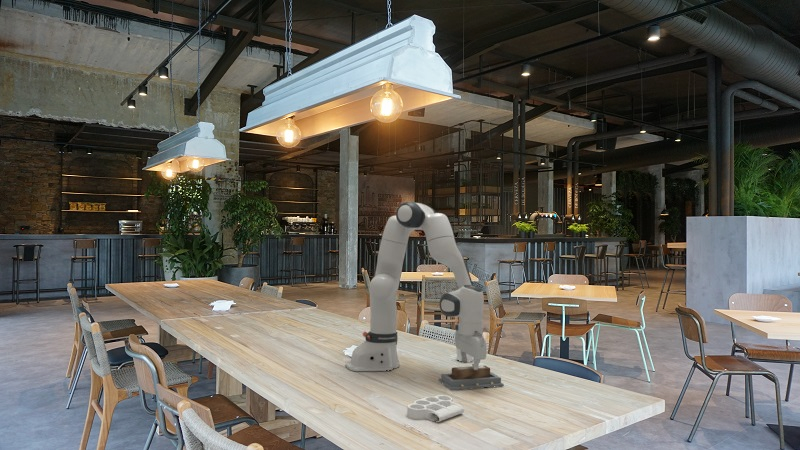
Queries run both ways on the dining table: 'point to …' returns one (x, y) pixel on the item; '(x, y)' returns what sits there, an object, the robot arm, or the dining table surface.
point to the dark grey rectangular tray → (470, 382)
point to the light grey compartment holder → (434, 408)
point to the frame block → (470, 372)
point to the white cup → (469, 358)
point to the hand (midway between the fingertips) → (469, 365)
